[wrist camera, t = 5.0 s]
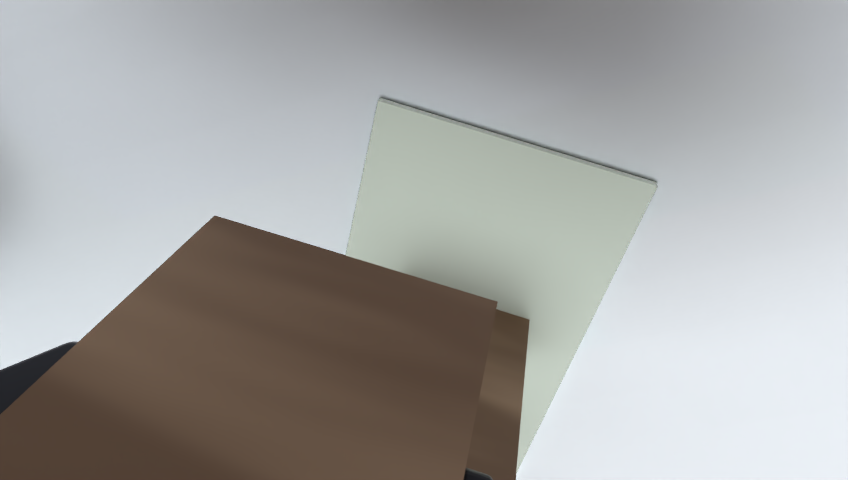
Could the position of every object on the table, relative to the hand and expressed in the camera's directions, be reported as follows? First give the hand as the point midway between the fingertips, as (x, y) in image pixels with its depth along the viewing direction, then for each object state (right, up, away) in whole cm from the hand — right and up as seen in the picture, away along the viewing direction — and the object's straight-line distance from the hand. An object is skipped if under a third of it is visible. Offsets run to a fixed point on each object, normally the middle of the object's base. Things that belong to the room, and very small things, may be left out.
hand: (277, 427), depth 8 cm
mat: (+2, -5, +18) cm, 19 cm away
